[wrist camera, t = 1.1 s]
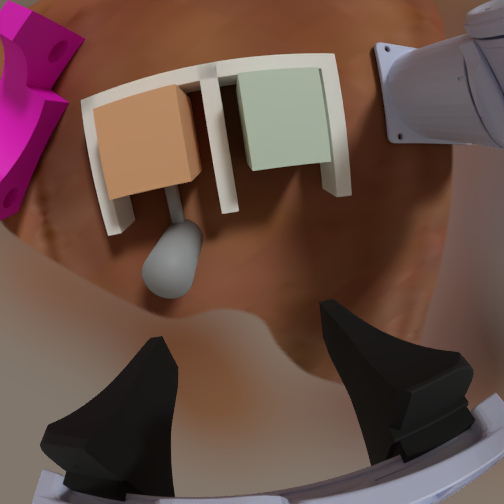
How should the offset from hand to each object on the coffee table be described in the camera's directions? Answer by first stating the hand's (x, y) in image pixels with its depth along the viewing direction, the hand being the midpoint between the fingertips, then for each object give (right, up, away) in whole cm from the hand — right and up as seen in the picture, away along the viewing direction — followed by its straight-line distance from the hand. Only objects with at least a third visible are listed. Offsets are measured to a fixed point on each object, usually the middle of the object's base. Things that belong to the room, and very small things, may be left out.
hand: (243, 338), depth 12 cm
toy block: (-17, +15, +4) cm, 23 cm away
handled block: (-5, +9, +6) cm, 12 cm away
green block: (+2, +12, +5) cm, 14 cm away
